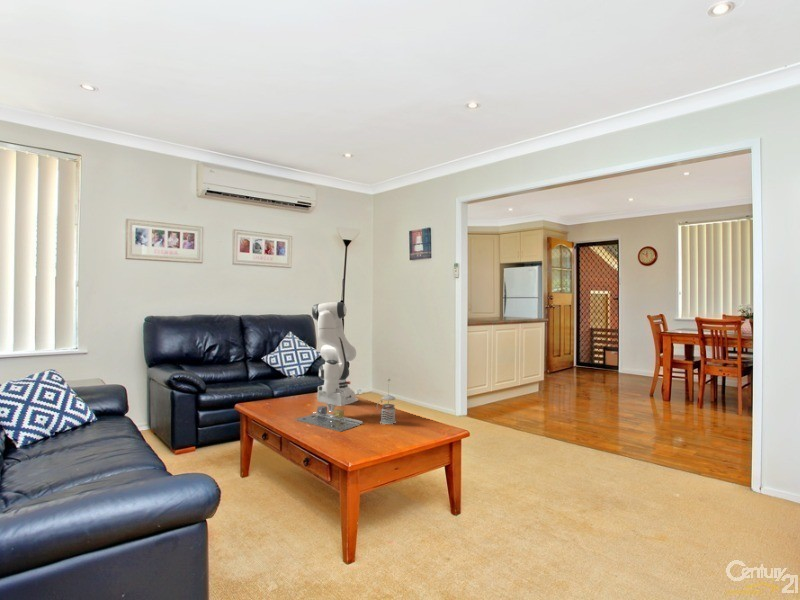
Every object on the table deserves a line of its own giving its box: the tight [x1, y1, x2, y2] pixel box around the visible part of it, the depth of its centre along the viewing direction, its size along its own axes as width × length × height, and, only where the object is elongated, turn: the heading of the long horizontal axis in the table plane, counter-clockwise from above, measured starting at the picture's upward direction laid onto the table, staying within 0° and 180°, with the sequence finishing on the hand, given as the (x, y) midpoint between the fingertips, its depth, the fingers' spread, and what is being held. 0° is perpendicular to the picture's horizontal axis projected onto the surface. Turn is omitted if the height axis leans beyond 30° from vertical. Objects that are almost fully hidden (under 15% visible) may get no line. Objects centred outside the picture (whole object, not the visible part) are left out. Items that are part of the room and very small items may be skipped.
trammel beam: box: [312, 405, 364, 426], centre depth 265 cm, size 9×34×5 cm, turn 53°
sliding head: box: [330, 408, 345, 418], centre depth 265 cm, size 9×4×4 cm, turn 143°
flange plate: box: [295, 413, 360, 433], centre depth 259 cm, size 14×36×1 cm, turn 53°
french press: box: [376, 377, 397, 425], centre depth 262 cm, size 10×12×25 cm
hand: (331, 411), depth 270 cm, fingers closed
